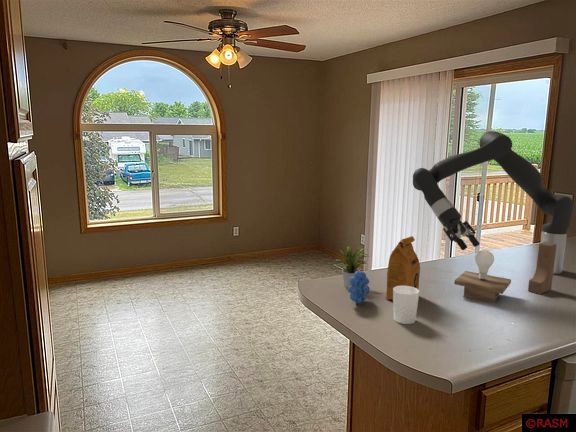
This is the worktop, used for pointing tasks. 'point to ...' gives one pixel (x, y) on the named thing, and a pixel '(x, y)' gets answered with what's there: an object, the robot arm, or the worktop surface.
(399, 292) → the white cup
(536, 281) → the wooden block
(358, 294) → the grapes
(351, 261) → the house plant
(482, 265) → the lightbulb
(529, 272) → the worktop surface
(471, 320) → the worktop surface
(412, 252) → the coffee package
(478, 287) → the stand
